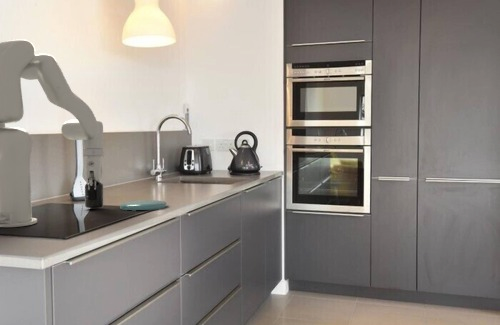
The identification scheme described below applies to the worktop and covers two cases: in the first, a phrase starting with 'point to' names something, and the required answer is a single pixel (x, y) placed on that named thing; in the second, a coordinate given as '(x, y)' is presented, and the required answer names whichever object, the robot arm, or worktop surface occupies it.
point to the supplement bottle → (99, 201)
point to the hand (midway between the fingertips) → (94, 198)
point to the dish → (143, 205)
